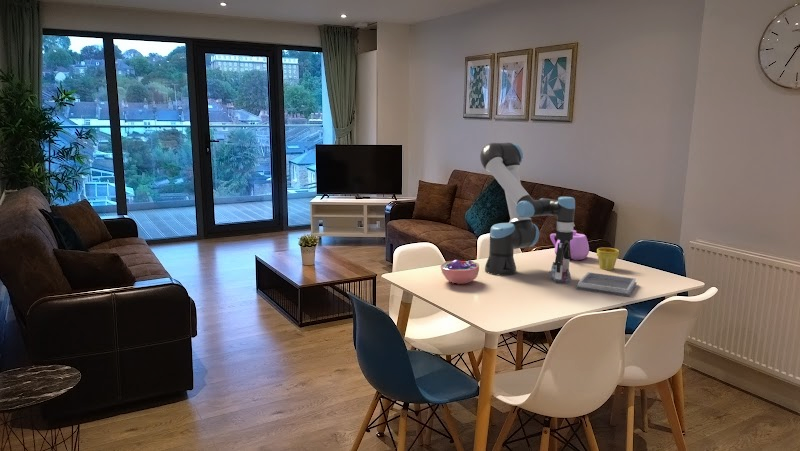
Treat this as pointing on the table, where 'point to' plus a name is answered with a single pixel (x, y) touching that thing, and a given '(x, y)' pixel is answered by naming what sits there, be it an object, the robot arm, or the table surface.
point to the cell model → (460, 271)
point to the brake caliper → (565, 275)
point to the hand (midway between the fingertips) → (561, 275)
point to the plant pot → (607, 257)
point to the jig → (607, 284)
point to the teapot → (575, 246)
